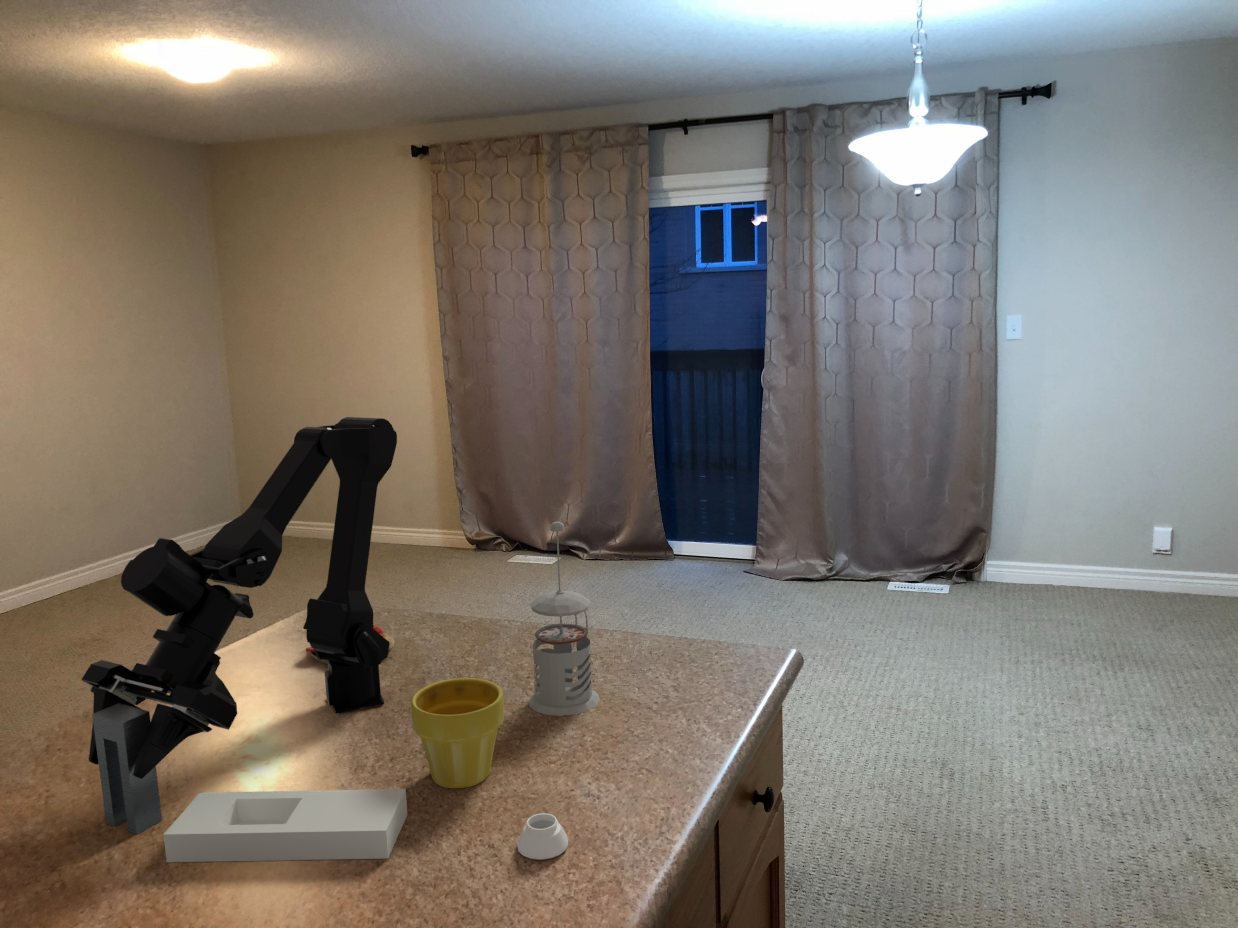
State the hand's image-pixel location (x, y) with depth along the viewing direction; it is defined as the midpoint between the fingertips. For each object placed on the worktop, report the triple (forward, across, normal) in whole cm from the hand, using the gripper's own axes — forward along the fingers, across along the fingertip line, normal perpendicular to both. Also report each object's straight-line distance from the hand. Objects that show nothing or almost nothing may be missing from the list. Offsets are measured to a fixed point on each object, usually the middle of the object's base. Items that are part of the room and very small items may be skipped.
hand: (114, 769), depth 98 cm
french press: (-29, -26, -39) cm, 55 cm away
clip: (+4, 0, -6) cm, 7 cm away
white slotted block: (0, -18, -9) cm, 20 cm away
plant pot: (-12, -26, -22) cm, 36 cm away
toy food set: (-30, +14, -40) cm, 52 cm away
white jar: (-6, -42, -16) cm, 46 cm away
